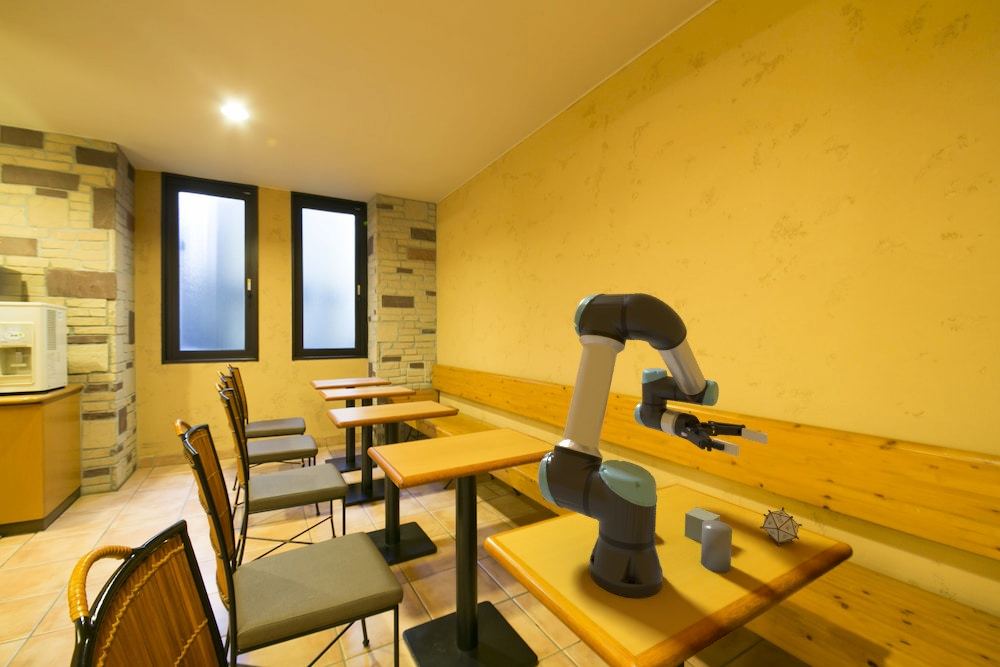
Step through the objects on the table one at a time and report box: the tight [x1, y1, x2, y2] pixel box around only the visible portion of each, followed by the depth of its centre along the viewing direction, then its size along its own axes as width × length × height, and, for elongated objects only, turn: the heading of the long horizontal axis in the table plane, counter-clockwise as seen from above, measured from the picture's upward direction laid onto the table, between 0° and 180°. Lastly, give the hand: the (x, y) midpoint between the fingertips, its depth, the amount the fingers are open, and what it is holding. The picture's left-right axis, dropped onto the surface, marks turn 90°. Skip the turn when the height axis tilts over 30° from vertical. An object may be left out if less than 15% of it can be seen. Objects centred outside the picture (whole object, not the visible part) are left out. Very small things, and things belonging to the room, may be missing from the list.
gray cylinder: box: [700, 520, 733, 574], centre depth 96 cm, size 6×6×9 cm
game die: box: [759, 506, 803, 547], centre depth 107 cm, size 9×8×10 cm
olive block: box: [684, 507, 721, 544], centre depth 108 cm, size 6×6×6 cm
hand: (753, 445), depth 110 cm, fingers open, 13 cm apart
